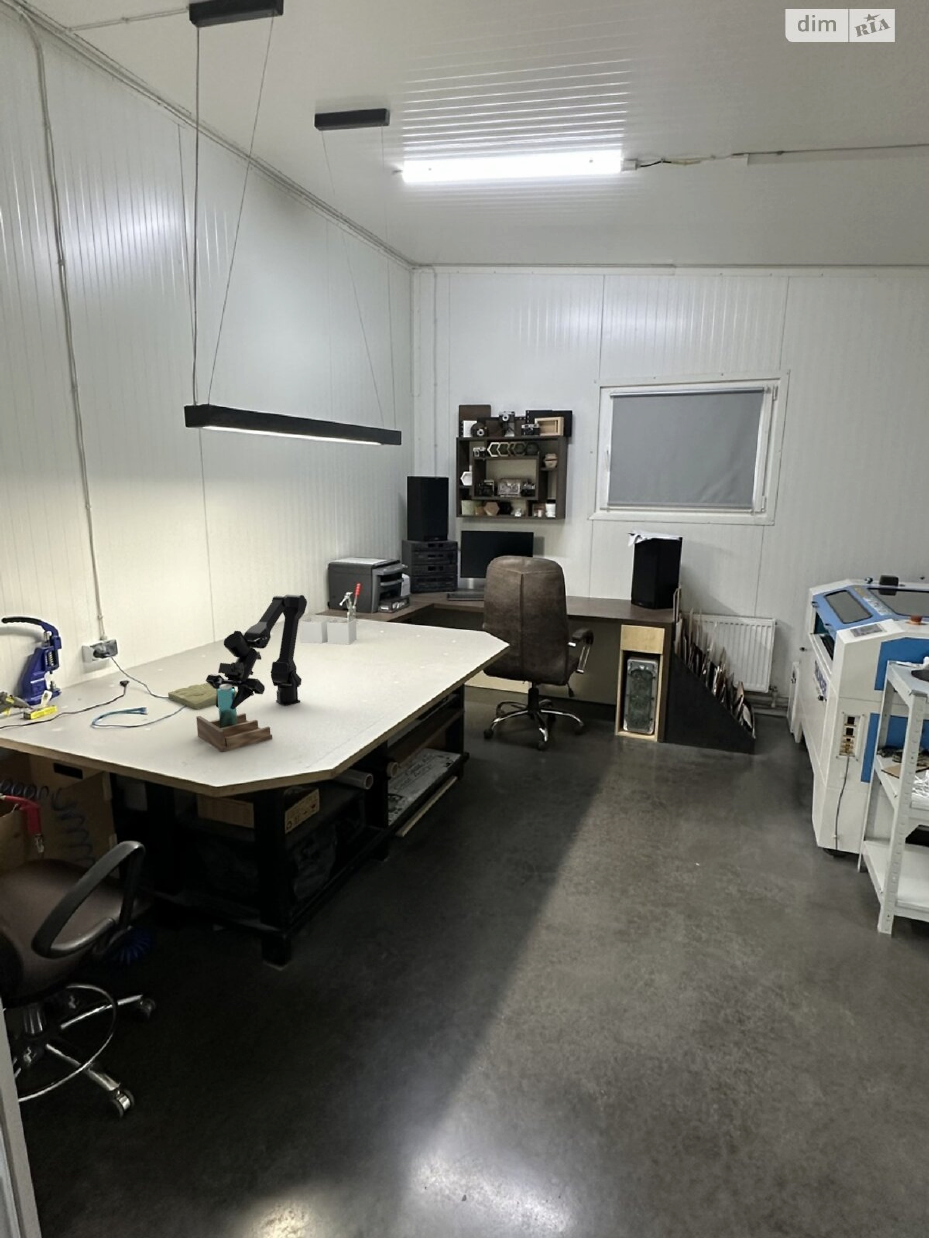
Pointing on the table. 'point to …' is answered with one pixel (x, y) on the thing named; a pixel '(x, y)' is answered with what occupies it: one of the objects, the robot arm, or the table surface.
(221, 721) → the spray can
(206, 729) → the rack
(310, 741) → the table surface
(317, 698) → the table surface
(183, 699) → the decorative tile
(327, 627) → the storage container
